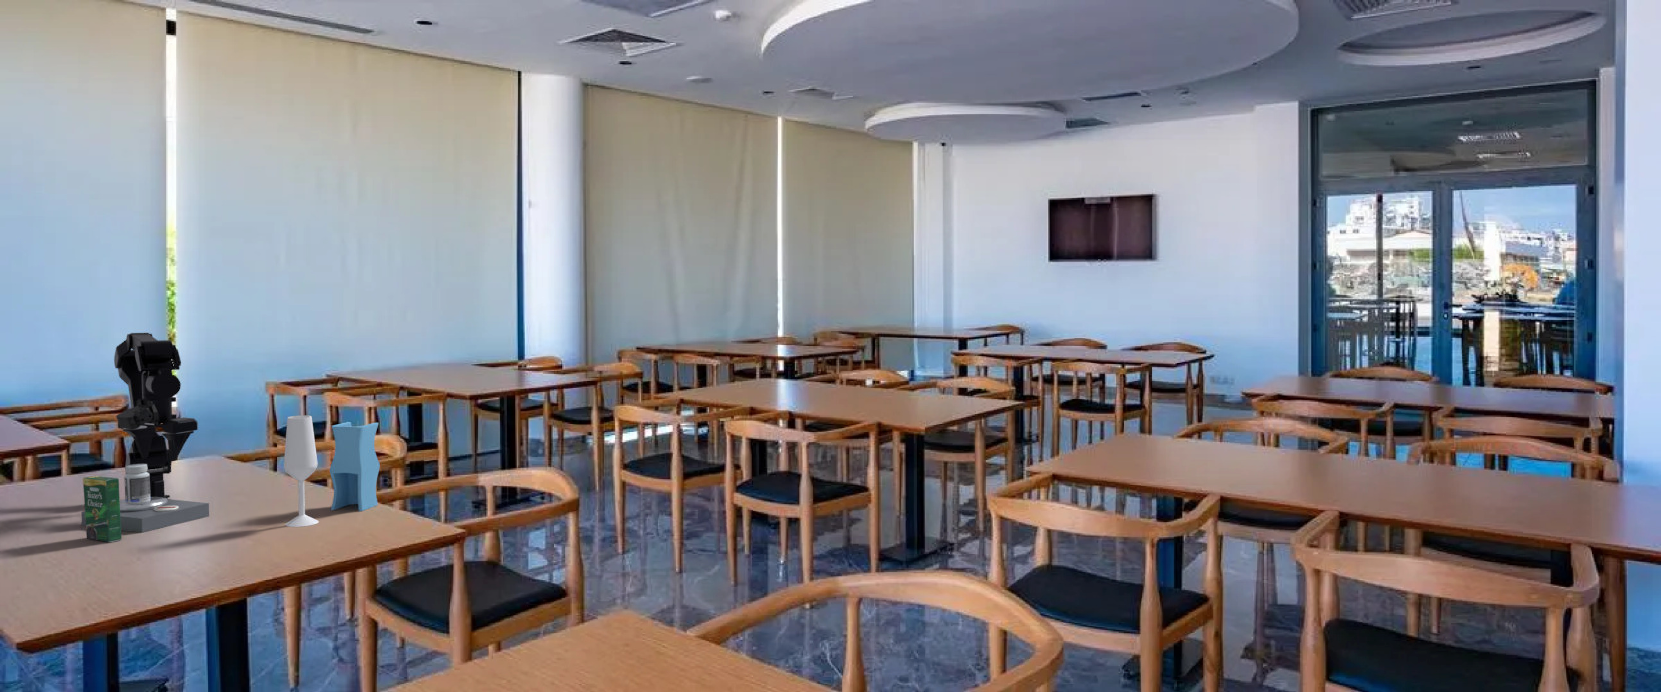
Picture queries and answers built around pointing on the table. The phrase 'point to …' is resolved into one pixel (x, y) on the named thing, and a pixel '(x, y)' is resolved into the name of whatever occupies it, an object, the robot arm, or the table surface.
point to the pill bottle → (137, 484)
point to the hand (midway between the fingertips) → (158, 459)
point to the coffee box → (102, 508)
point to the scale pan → (143, 505)
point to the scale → (161, 515)
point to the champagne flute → (300, 461)
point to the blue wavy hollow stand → (354, 466)
